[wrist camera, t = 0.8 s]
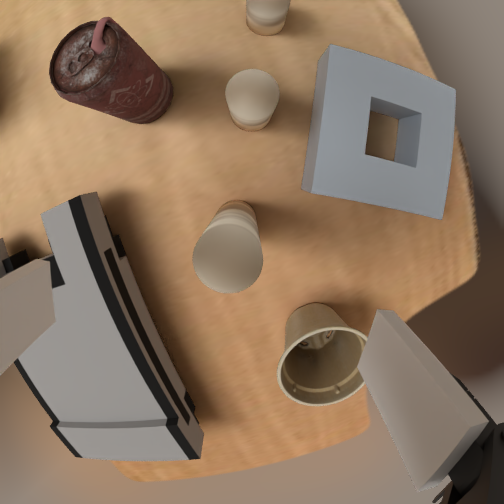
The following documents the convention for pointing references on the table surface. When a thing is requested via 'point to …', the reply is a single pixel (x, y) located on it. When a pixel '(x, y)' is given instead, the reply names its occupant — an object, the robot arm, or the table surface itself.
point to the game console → (103, 349)
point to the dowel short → (266, 15)
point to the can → (109, 73)
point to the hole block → (356, 127)
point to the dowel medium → (252, 98)
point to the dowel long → (229, 249)
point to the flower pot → (320, 357)
